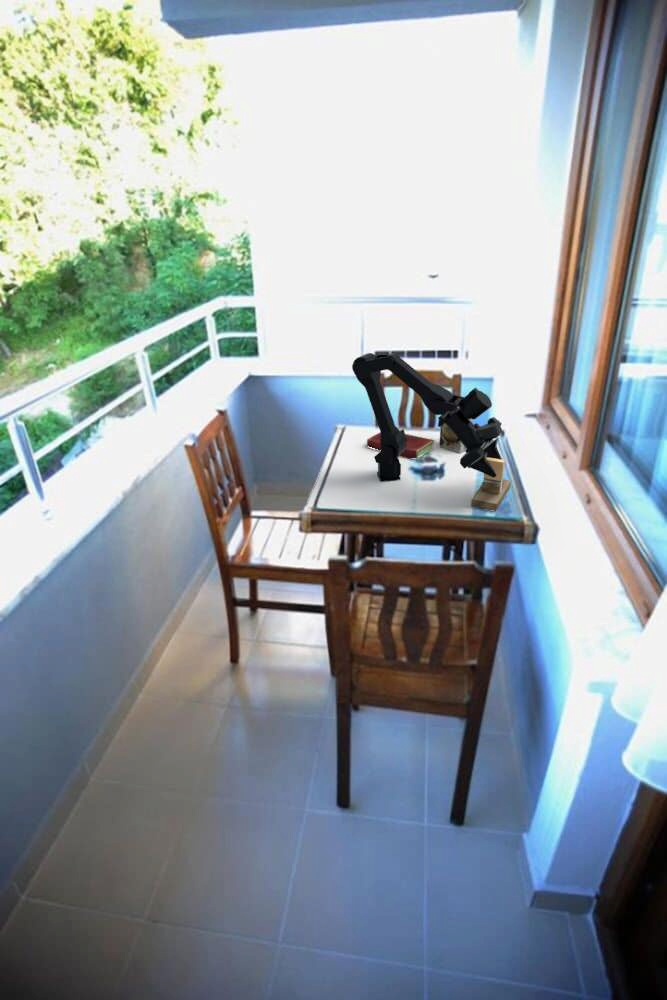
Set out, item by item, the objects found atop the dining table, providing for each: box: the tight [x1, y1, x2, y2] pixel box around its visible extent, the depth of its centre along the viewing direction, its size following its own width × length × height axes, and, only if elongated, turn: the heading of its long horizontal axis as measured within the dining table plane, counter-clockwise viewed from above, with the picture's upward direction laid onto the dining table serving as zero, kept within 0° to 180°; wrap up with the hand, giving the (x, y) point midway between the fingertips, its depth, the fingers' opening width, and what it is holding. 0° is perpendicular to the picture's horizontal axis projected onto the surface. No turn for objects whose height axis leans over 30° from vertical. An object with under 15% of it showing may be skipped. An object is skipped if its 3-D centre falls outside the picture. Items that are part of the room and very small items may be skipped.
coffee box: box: [438, 407, 473, 454], centre depth 176 cm, size 9×6×16 cm
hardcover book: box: [366, 432, 435, 459], centre depth 181 cm, size 12×21×4 cm, turn 51°
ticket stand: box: [470, 478, 512, 512], centre depth 145 cm, size 7×16×6 cm, turn 149°
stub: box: [483, 457, 506, 482], centre depth 142 cm, size 5×2×6 cm, turn 59°
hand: (499, 471), depth 141 cm, fingers open, 8 cm apart
